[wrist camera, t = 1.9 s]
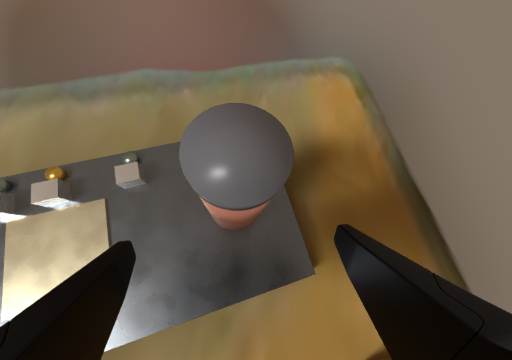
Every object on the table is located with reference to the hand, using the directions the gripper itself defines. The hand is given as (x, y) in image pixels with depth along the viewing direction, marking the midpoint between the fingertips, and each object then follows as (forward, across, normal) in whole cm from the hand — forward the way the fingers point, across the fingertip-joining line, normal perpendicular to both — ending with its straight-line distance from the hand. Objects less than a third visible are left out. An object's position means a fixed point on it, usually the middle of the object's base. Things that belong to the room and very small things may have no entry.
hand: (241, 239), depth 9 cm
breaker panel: (+9, +7, +6) cm, 13 cm away
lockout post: (+9, 0, +4) cm, 10 cm away
